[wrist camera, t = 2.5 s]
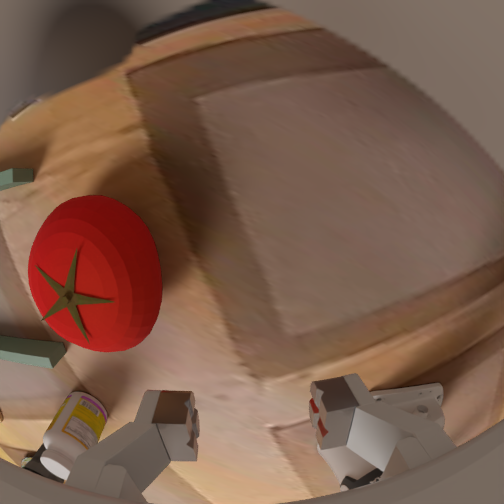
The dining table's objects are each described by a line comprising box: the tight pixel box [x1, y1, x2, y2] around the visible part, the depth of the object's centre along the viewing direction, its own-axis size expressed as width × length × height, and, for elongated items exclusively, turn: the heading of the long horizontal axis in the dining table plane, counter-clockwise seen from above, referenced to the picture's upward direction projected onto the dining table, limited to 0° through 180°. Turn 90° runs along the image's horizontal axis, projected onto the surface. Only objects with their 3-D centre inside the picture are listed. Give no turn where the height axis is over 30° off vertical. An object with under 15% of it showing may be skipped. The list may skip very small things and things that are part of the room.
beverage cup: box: [22, 443, 64, 483], centre depth 24 cm, size 7×7×20 cm
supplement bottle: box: [40, 392, 107, 480], centre depth 26 cm, size 7×7×13 cm
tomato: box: [28, 195, 162, 352], centre depth 23 cm, size 14×13×10 cm
